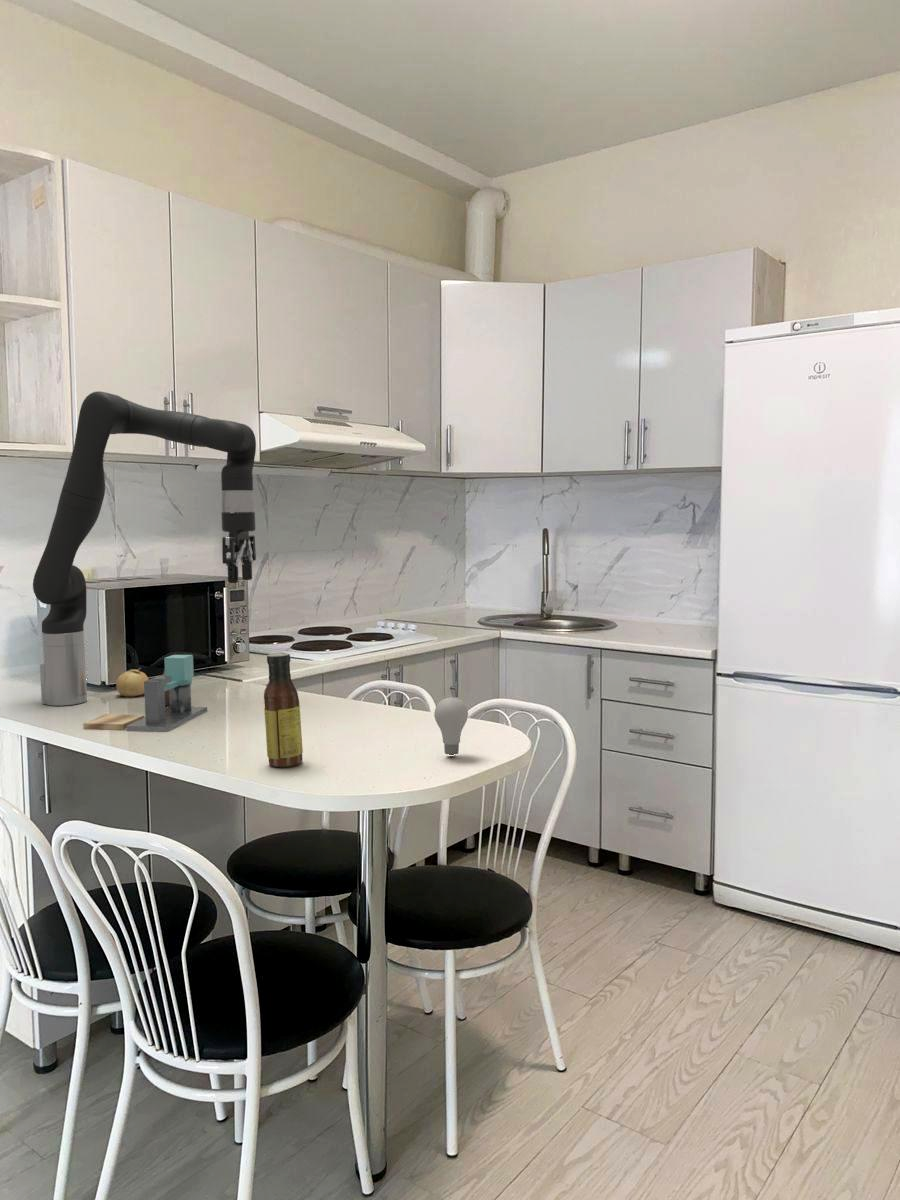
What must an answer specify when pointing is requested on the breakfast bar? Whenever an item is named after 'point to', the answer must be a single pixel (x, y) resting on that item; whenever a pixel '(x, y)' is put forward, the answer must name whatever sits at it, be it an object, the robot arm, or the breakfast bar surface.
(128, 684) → the onion
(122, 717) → the wooden coaster
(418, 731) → the breakfast bar surface
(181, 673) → the teal block with handle
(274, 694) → the sauce bottle
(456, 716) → the lightbulb
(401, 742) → the breakfast bar surface
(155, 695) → the post
